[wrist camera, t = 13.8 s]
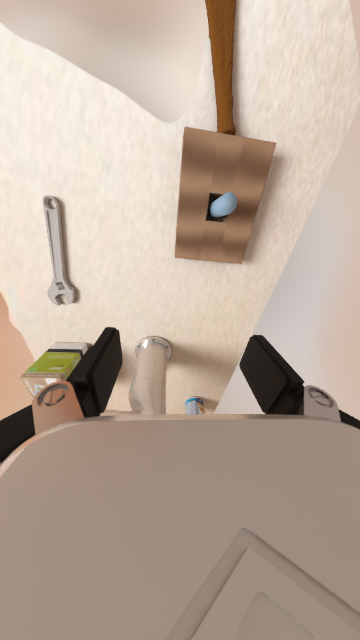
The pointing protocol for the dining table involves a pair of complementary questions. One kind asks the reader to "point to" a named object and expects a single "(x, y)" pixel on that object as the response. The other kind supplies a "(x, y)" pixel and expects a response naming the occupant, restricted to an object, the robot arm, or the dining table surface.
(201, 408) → the blue-capped supplement jar
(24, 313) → the dining table surface
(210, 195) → the hole block
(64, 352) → the tea box
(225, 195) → the peg
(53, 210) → the adjustable wrench
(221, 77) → the primitive tool
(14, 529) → the robot arm
